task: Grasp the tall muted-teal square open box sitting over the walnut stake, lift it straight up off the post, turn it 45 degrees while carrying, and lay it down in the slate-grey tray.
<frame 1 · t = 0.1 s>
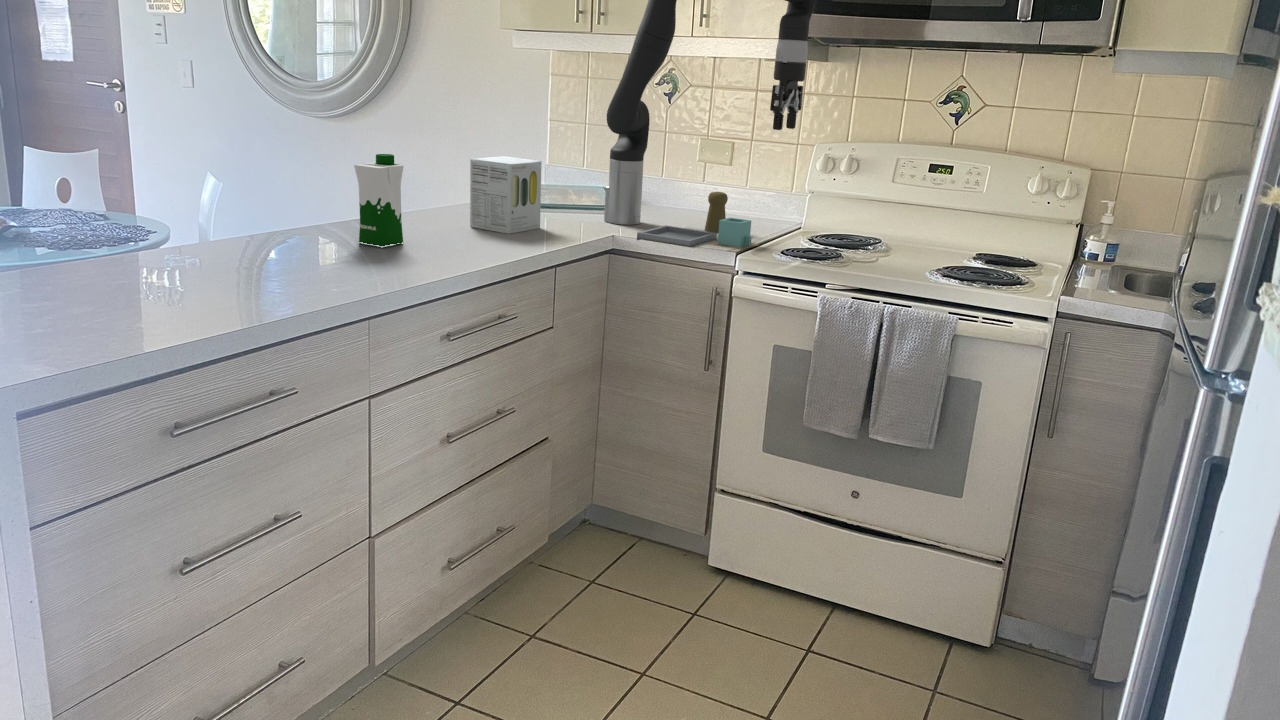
hand: (784, 129, 231), 29 cm above the counter, fingers open, 8 cm apart
tray: (676, 240, 239), on the counter
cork: (715, 233, 253), on the counter
supplement box: (505, 228, 243), on the counter
open box: (733, 244, 235), point 1 cm above the counter, touching stake
stake: (733, 246, 236), on the counter
milk carton: (381, 245, 215), on the counter
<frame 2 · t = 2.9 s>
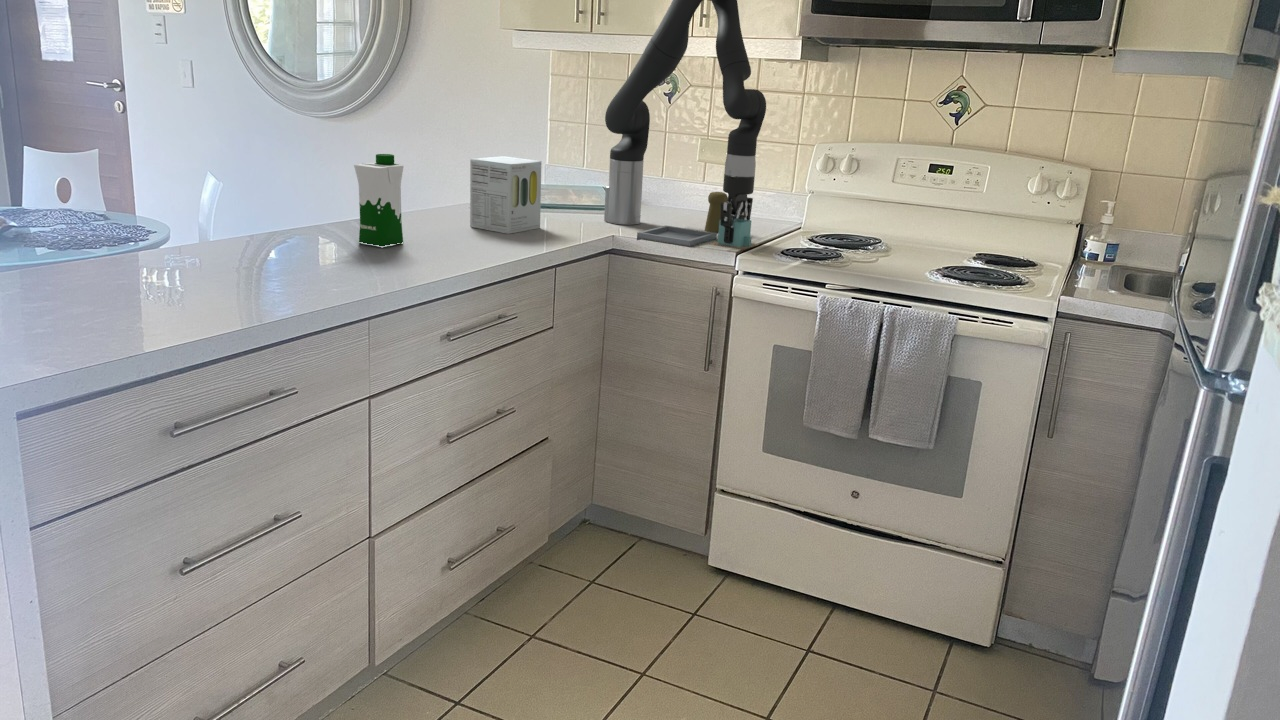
hand: (733, 240, 235), 1 cm above the counter, fingers closed on open box, 6 cm apart
open box: (733, 244, 235), point 1 cm above the counter, touching gripper, stake
everything else where it was.
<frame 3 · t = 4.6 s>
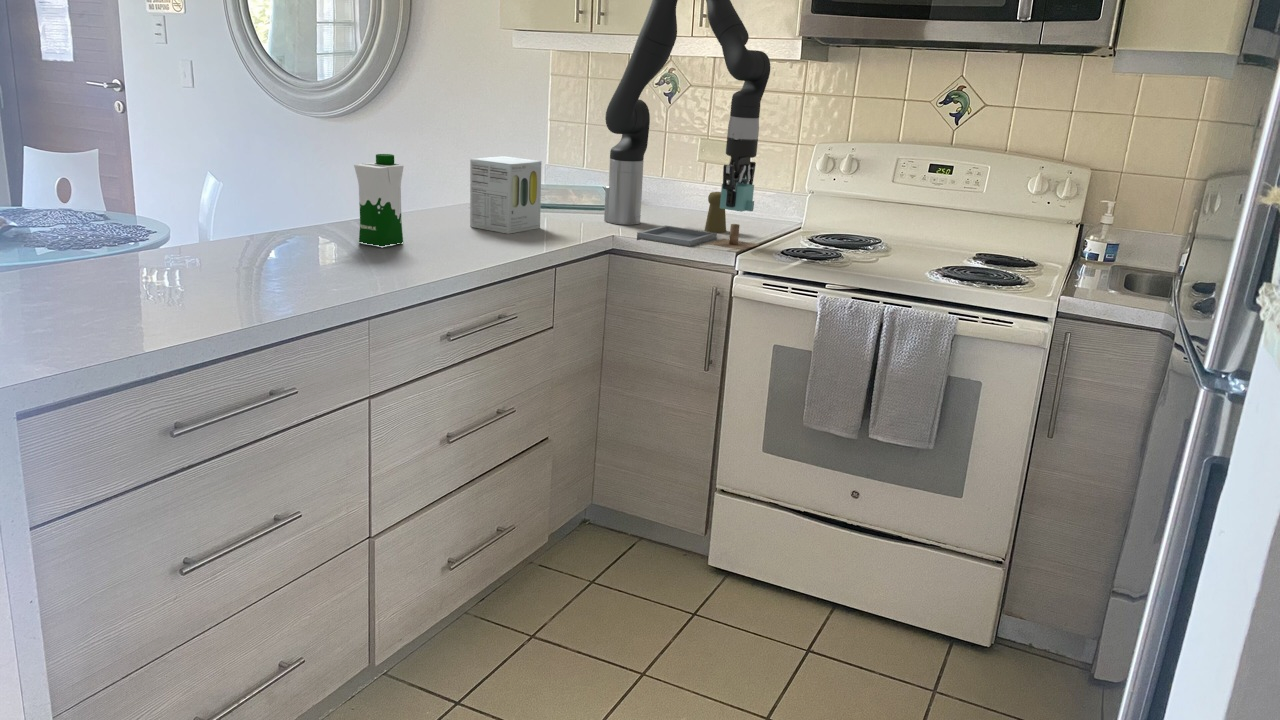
hand: (736, 205, 233), 10 cm above the counter, fingers closed on open box, 6 cm apart
open box: (735, 208, 233), point 9 cm above the counter, touching gripper
everything else where it was.
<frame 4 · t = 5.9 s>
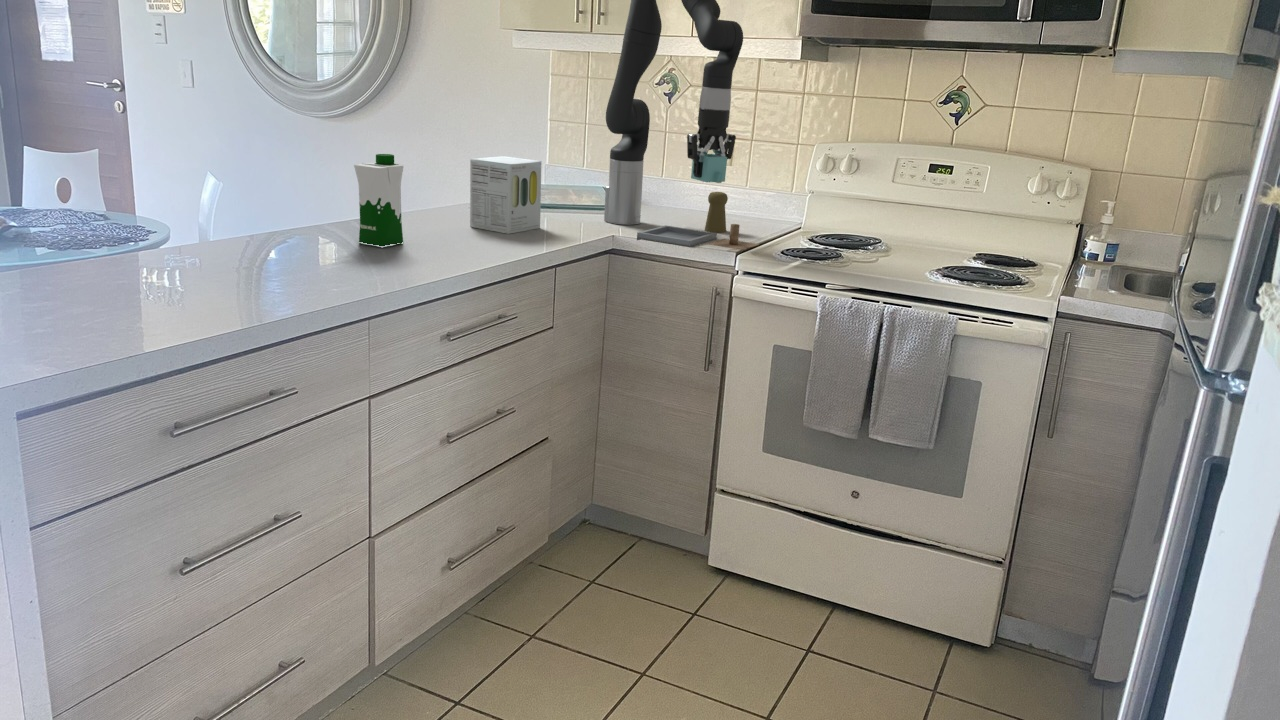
hand: (707, 176, 232), 17 cm above the counter, fingers closed on open box, 6 cm apart
open box: (707, 179, 233), point 16 cm above the counter, touching gripper
everything else where it was.
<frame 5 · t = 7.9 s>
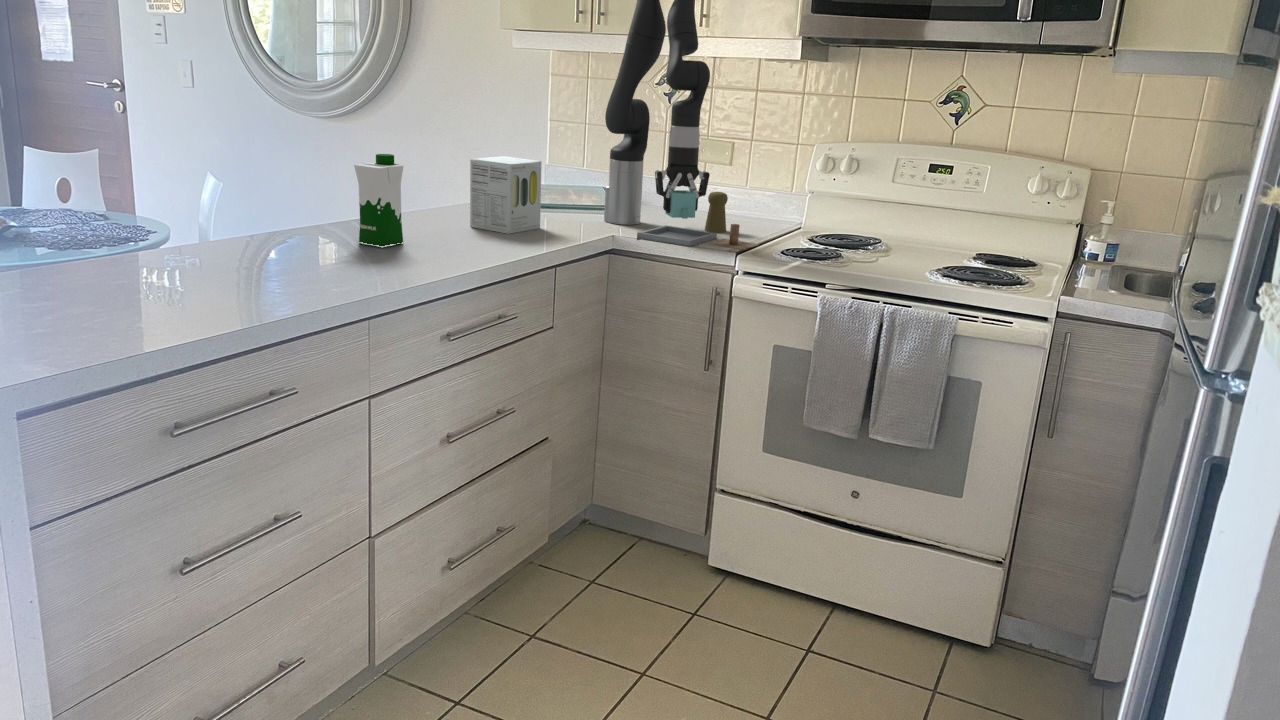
hand: (680, 212, 237), 7 cm above the counter, fingers closed on open box, 6 cm apart
open box: (679, 215, 237), point 6 cm above the counter, touching gripper
everything else where it was.
when the fingers open (3 cm above the counter, at t = 9.1 s): open box drops 1 cm, resting on tray.
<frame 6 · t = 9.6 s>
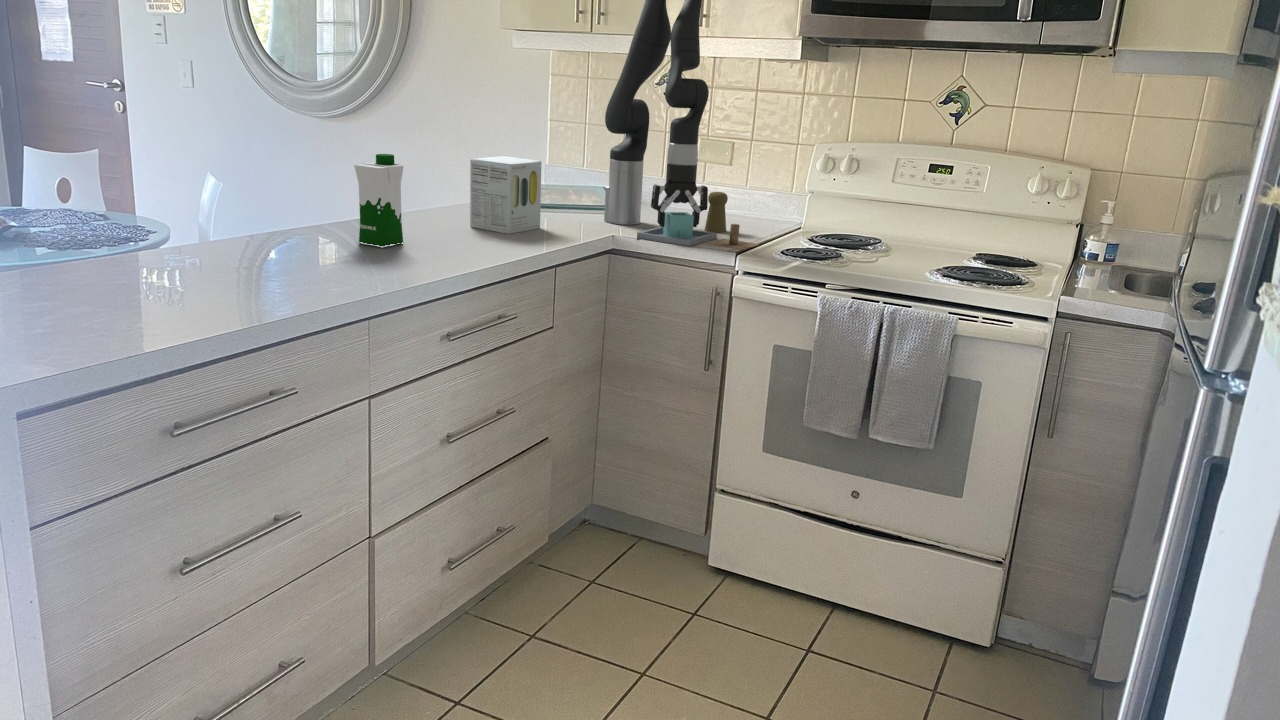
hand: (677, 226, 238), 4 cm above the counter, fingers open, 8 cm apart
open box: (677, 237, 239), point 1 cm above the counter, touching tray
everything else where it was.
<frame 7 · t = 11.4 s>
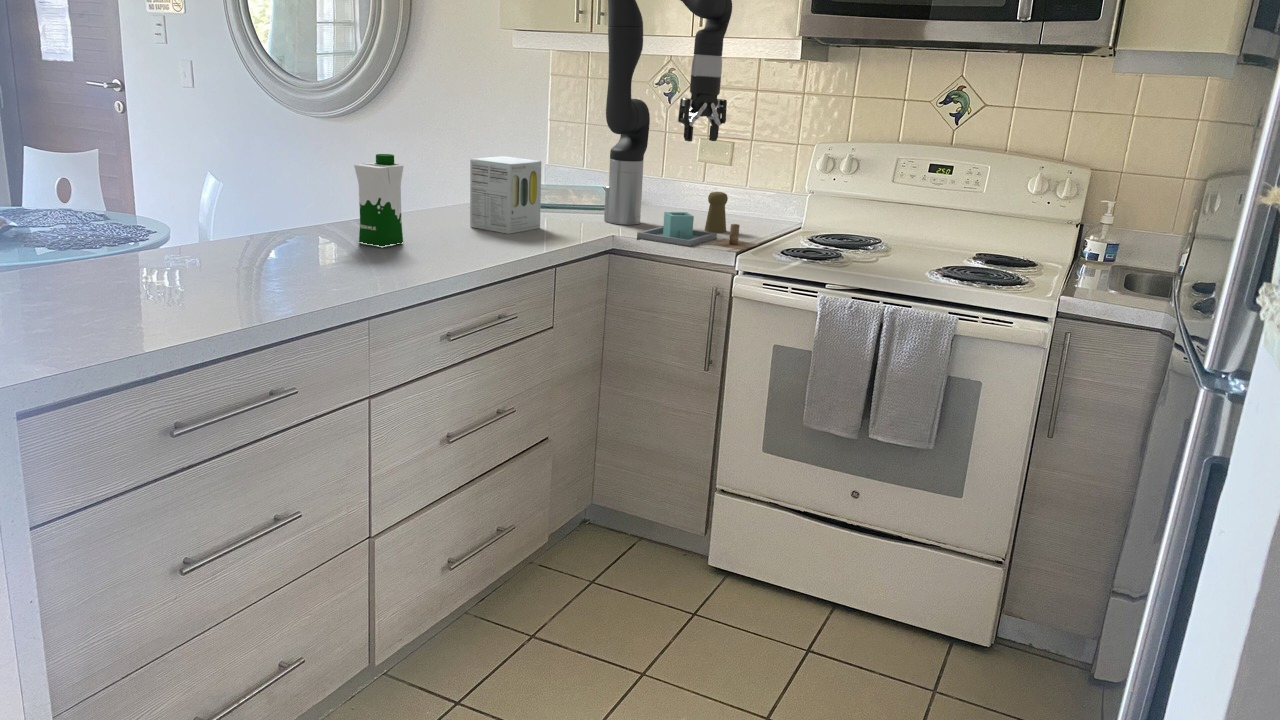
hand: (700, 141, 238), 25 cm above the counter, fingers open, 8 cm apart
nothing on the counter moved.
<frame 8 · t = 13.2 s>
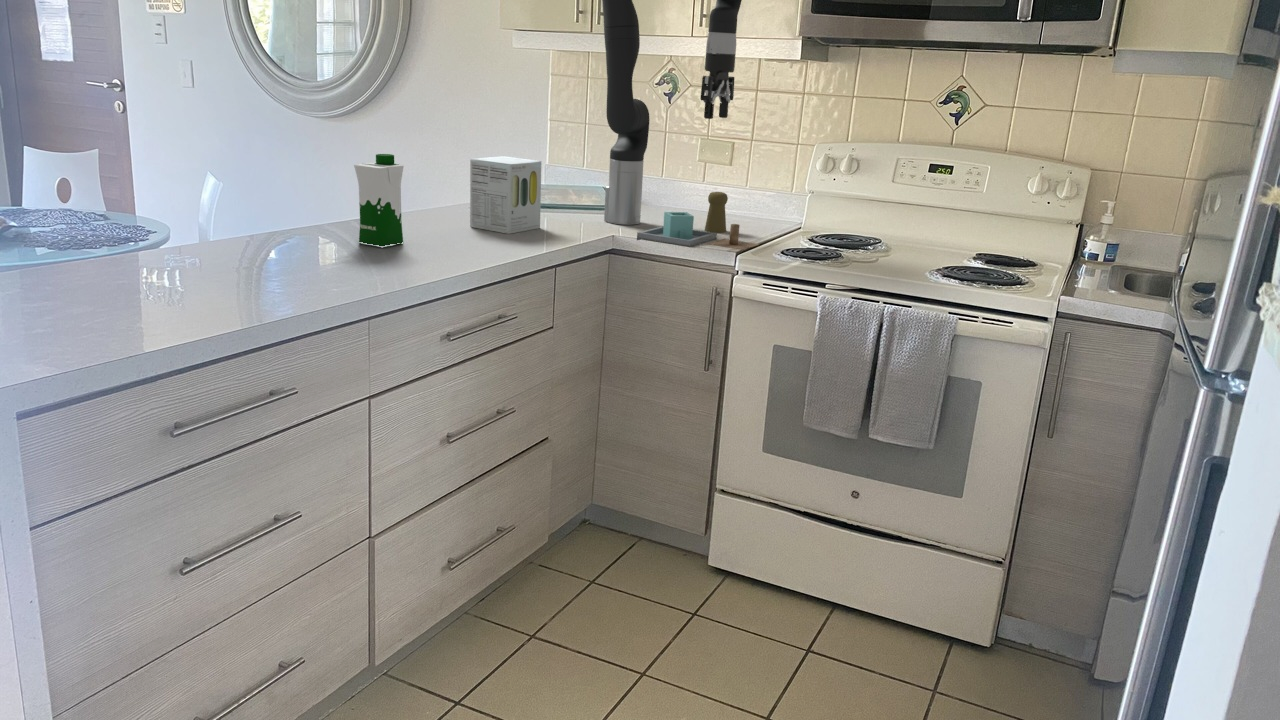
hand: (715, 118, 242), 30 cm above the counter, fingers open, 8 cm apart
nothing on the counter moved.
at the end: open box inside the target area on the tray (0.1 cm from its centre), point 0.8 cm above the tray's base; open box tilted 0° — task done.
